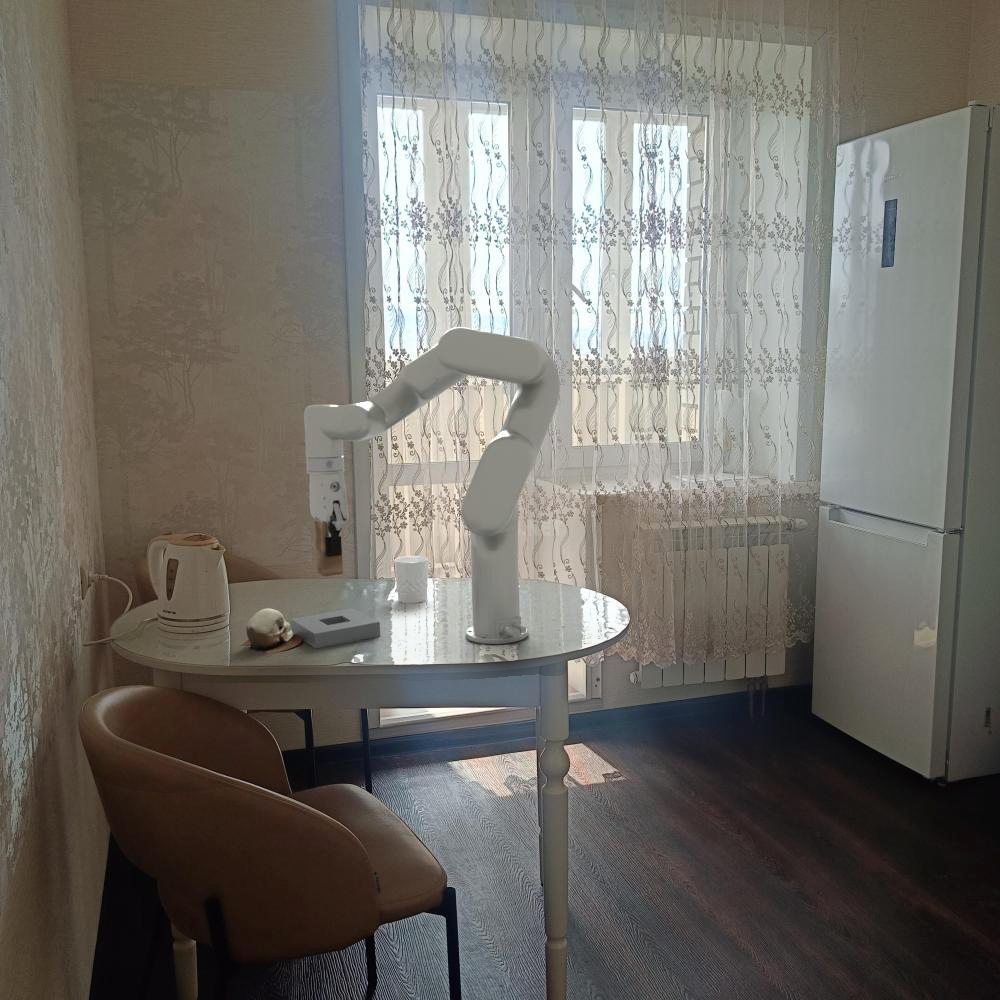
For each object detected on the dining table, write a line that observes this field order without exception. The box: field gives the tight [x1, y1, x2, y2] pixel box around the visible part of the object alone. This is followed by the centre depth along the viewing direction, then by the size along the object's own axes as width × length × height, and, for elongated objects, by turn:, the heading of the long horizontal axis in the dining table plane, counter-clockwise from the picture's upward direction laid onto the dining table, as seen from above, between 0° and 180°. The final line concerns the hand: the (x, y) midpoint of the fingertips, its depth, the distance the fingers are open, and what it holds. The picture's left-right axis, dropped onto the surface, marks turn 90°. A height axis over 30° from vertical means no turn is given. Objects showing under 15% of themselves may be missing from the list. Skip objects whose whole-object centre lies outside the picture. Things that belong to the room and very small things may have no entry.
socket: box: [290, 607, 381, 649], centre depth 189 cm, size 14×14×3 cm
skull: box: [241, 608, 303, 654], centre depth 183 cm, size 12×10×10 cm
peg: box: [314, 517, 344, 577], centre depth 187 cm, size 4×4×12 cm
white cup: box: [393, 555, 429, 604], centre depth 216 cm, size 8×8×10 cm
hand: (329, 553), depth 187 cm, fingers closed on peg, 4 cm apart
